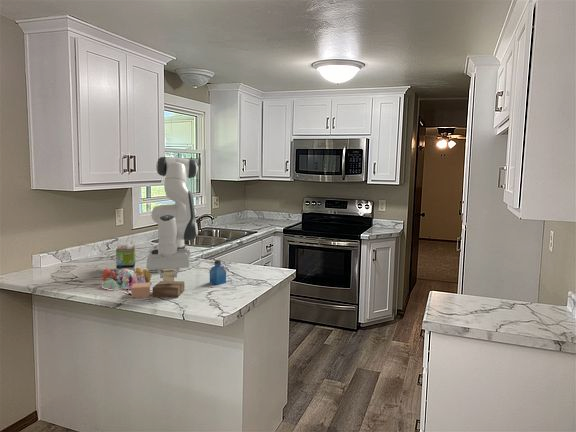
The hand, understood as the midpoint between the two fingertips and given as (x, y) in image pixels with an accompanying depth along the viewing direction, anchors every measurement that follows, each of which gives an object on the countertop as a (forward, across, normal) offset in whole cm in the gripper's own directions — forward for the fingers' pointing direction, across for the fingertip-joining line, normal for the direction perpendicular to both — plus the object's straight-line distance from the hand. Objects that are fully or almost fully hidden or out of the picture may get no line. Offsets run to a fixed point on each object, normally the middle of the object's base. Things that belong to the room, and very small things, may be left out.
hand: (168, 277), depth 216 cm
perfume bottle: (+8, -25, -15) cm, 30 cm away
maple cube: (+2, 0, 0) cm, 2 cm away
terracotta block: (+8, +13, -1) cm, 15 cm away
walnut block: (+8, 0, 0) cm, 8 cm away
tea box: (+8, +25, -53) cm, 59 cm away
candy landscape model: (+9, +22, -22) cm, 32 cm away
